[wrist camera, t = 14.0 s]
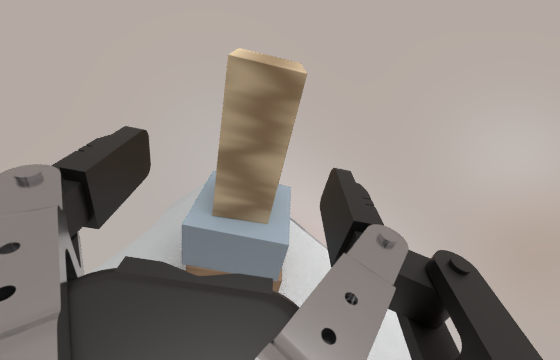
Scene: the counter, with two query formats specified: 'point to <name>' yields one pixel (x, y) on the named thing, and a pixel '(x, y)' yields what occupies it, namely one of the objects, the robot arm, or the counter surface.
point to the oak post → (255, 133)
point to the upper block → (236, 237)
